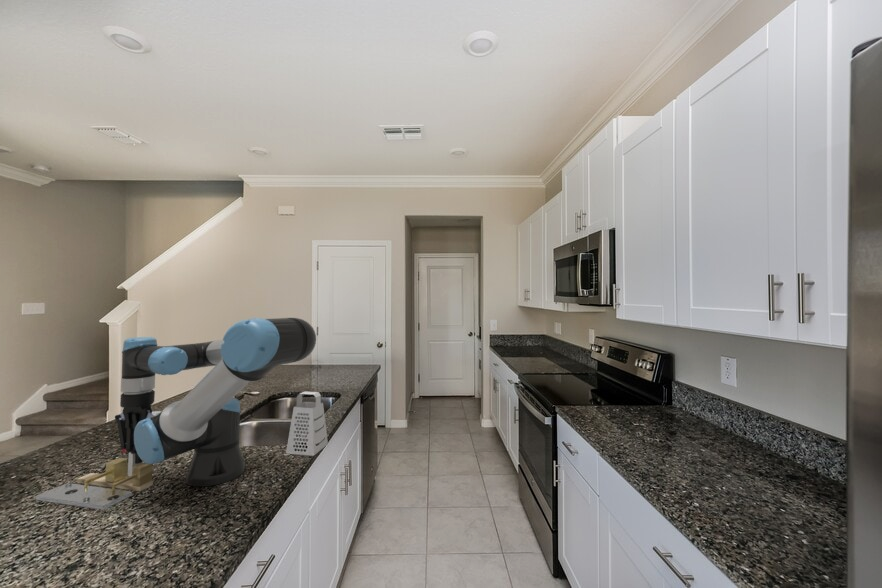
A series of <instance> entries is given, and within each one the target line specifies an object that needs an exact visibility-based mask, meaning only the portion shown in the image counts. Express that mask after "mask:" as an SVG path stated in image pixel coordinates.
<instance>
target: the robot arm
mask: <svg viewBox="0 0 882 588" xmlns="http://www.w3.org/2000/svg"><path fill="white" fill-rule="evenodd" d="M316 334H317V333H316V331H315V329H314V327H313V326H312V324H310V323H309V322H307V321H306V320H304V319H302V318H298V317H281V318H261V317H260V318H259V317H257V318H256V317H255V318H250V319H244V320H240V321H238V322H235V323H234V324H233V325H231V326H230V327H229V328H228V330H227V331H226V332H225V334H224V335H223V338H222V339H218V340H212V341H205V342H198V343H187V344H186V343H185V344H175V345H174V344H173V345H158V342H157V339H156V338H155V337H153V336H141V337H128V338H126V339H124V341H123V345H122V347H123V348H122V351H121V354H122V355H121V356H122V357H121V380H120V392H121V394H120V400H119V401H120V403H119V404H120V407H121V408H122V412H121V413H120V414H116V415H115V416H114V419H115V421H116V423H117V429H118V436H119V443H120V444H119V445H120V449H121V450H122V449H126V452H127V458H126V459H127V462H128V472H127V477H129V476H132V475H133V467H135V466H138V465H140V464H142V463H147V464H158V463H162V462H164V461H166V460H168V459H172V458H174V457H176V456H179V455H180V456H181V455H182V454H185V453H188V452H190V451H193V452H194V453H193V454H192V457H191V460H190V464H189V467H188V469H187V470H186V473H185V474H186V477H185V482H186V483H187V484H188V485H190V486H193V487H209V486H211V487H212V486H216V485H220V484H223V483H226V482H227V483H228V482H229V481H232V480H234V479H237V478H238V477H239V476H241V475H242V474H243V473H244V472H245V469H246V467H245V465H246V464H245V463H246V461H245V458H243V454H242V450H241V447H240V425H241V423H240V422H241V413H242V411H241V402H240V400H239V399H238V398H235V396H237V394H239V393H240V392H241V391H242V390H243V389H245V387H246V386H248V384H249V383H255V382H258V381H261V380H262V379H263V378H265V377H266V376H267V375H268V374H270V372H271V371H272V370H273V369H275V368H276V367H278V366H281V365H288V364H292V363H296V362H300V361H303V360H305V359H306V358H307V357H308V356H310V354H311V353H313V351H314V349H315V347H316V343H317V335H316ZM206 367H213V368H212V369H211V370H210V371H208V373H207V374H206V375H205V376H204V377H203V378H202V379H200V381H198V383H197V384H196V385H195V386H194V387H192V389H190V391H189V392H188V393H187V394H186V395H185V396H184V397H183V398H182V399H181V400H178V401H173V402H172V403H169V404H168V405H167V406H166V407H165V408H164V409H162V410H161V411H162V412H161V413H160V414H159V415H157V416H154V415H153V414H152V412H153V409H152V405H153V404H154V403H155V394H156V391H155V390H154V389H155V388H156V374H157V375H160V376H166V375H167V376H172V375H176V374H179V373H180V372H182V371H188V370H193V369H199V368H206Z"/></svg>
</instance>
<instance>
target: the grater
mask: <svg viewBox="0 0 882 588" xmlns="http://www.w3.org/2000/svg"><path fill="white" fill-rule="evenodd" d="M303 395H313V396H314V397H315V401H303ZM321 401H322V395H321V394H320V392H319V391H303V392H300V393H298V394H297V396H296V405H295V406H293V408H292V415H291V421H290V425H289V426H290V427H289V433H288V440H287V445H286V450H285V454H289V455H290V454H291V455H301V456H302V455H303V456H313V457H314V456H316V455H317V454H318V453H320V451H322V450H323V449H324V448H325V447H326V446H328V445H329V442H328V435H327V434H328V433H327V425H326V417H325V409H324V408H325V407H324V403H323V402H321ZM302 443H303V444H302ZM305 443H306V444H305ZM300 446H301V447H300ZM303 446H304V447H303ZM306 446H307V448H306ZM304 450H305V451H304Z"/></svg>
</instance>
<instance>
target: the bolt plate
mask: <svg viewBox="0 0 882 588" xmlns="http://www.w3.org/2000/svg"><path fill="white" fill-rule="evenodd" d="M84 485H85V484H80V483H71V482H70V483H69V482H67V483H64V484H62V485H60V486H58V487H55V488H52V489H50V490H47V491H45V492H42V493H39V494H37V495H35V500H36V501H42V502H48V503H55V504H61V505H62V504H63V505H68V506H76V507H82V508H88V509H89V508H90V509H96V510H102V511H103V510H105V509H108V508H110V507H112V506H114V505H116V504H118V503H119V502H122V501H123V500H126V499H128V498H130V497H131V496H133V492H132V490H125V489H117V488H115V494H114V495H112V488H110V487H102V486H95V485H88V488H87V491H84Z"/></svg>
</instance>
